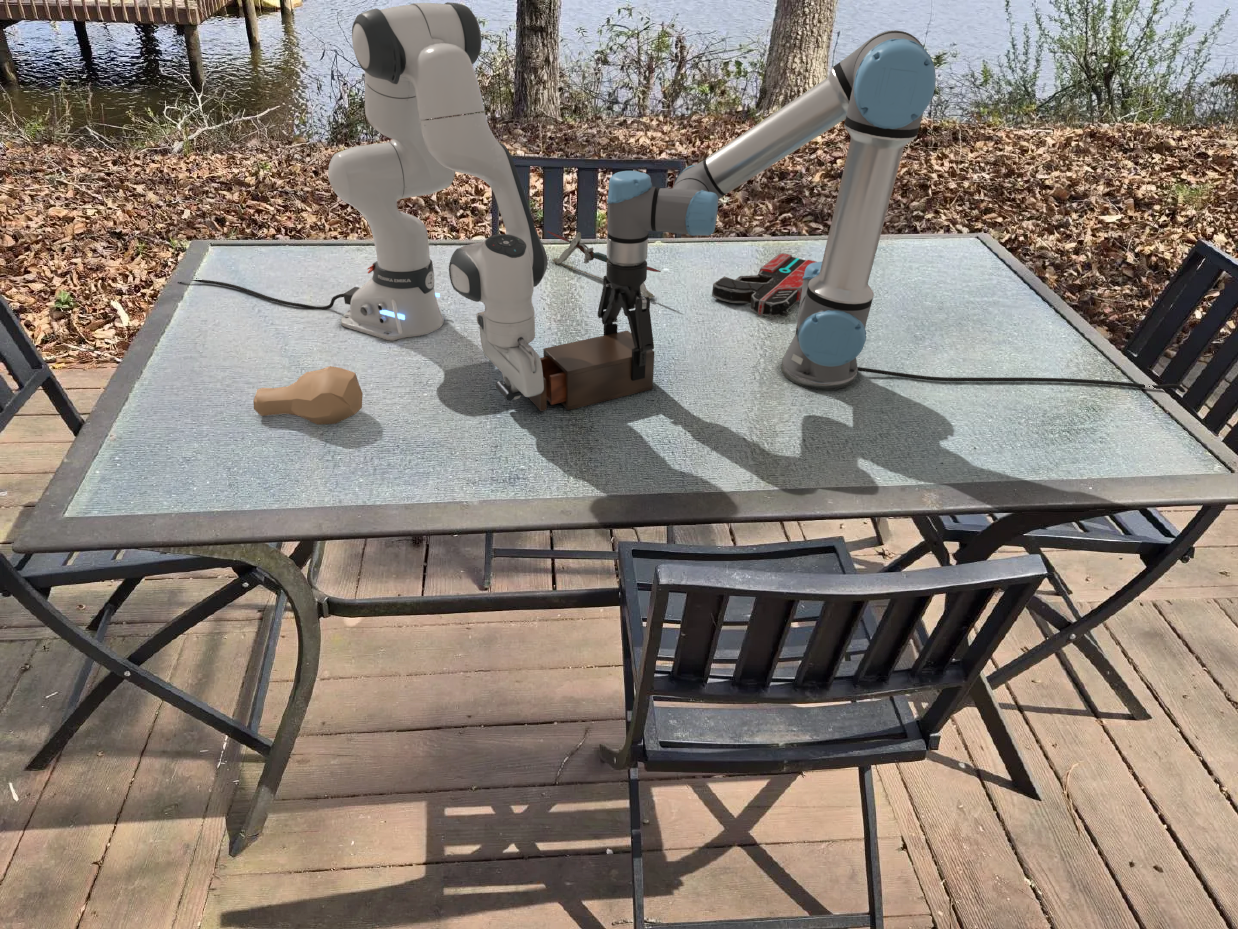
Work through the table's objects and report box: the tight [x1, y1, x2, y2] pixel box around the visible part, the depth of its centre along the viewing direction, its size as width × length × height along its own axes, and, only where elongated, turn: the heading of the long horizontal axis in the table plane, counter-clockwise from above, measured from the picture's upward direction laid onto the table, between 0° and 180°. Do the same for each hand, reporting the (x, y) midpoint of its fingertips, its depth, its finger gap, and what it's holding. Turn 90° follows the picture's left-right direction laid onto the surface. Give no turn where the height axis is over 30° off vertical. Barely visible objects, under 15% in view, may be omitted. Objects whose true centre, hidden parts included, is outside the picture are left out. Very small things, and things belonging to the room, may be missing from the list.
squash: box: [252, 365, 363, 426], centre depth 159 cm, size 11×20×9 cm, turn 90°
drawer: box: [494, 356, 566, 412], centre depth 167 cm, size 24×10×6 cm, turn 119°
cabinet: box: [542, 330, 656, 411], centre depth 171 cm, size 19×11×8 cm, turn 119°
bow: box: [546, 230, 662, 300], centre depth 217 cm, size 39×2×10 cm, turn 47°
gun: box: [711, 252, 817, 318], centre depth 215 cm, size 4×31×19 cm
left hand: (513, 395), depth 164 cm, fingers closed, pressing on drawer
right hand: (623, 366), depth 174 cm, fingers closed on cabinet, 11 cm apart
